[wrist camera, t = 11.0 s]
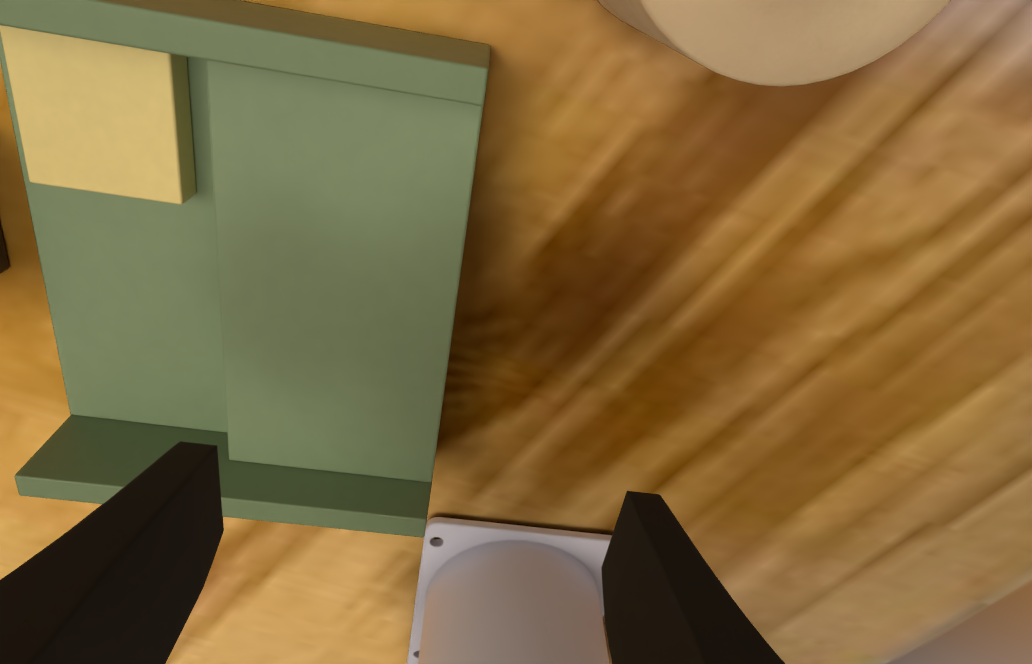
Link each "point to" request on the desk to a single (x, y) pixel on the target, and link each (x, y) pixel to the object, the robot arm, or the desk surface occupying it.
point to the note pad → (102, 115)
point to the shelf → (267, 265)
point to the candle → (779, 33)
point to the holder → (3, 255)
